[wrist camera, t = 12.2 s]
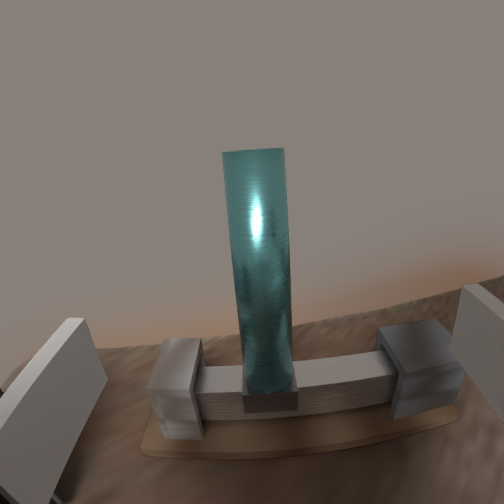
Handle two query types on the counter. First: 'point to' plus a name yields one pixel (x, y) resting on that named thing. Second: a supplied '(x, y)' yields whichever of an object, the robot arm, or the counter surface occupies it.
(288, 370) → the tube
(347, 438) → the bench
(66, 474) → the counter surface
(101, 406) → the counter surface
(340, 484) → the counter surface
